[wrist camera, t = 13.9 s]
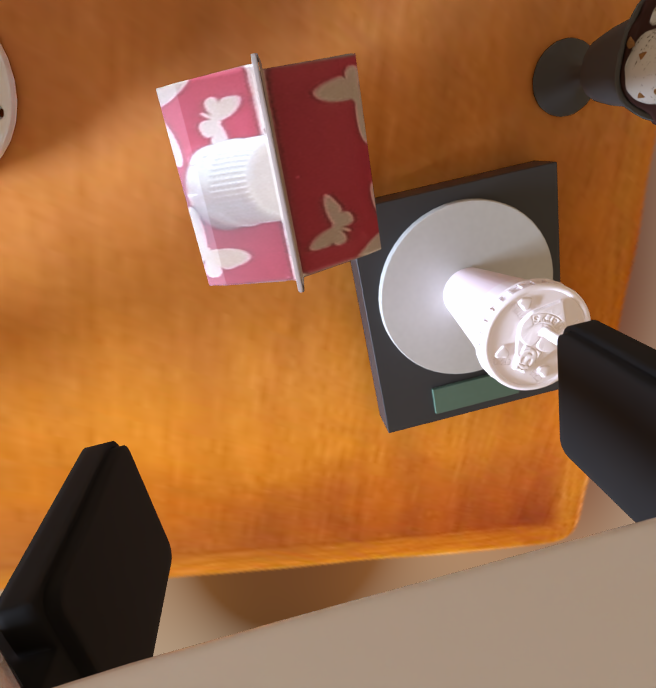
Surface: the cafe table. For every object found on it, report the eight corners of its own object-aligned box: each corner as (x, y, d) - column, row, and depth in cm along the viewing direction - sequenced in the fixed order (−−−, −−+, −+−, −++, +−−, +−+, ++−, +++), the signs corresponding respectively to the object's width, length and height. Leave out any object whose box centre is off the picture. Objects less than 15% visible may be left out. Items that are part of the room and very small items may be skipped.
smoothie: (526, 269, 36) (677, 336, 23) (481, 346, 38) (599, 447, 25) (452, 233, 35) (571, 284, 22) (409, 315, 36) (496, 407, 24)
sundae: (509, 122, 36) (668, 106, 22) (536, 15, 34) (731, -77, 20) (590, 137, 37) (789, 131, 24) (622, 34, 35) (862, -40, 21)
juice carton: (230, 220, 36) (200, 313, 16) (205, 119, 33) (132, 75, 13) (320, 202, 36) (406, 270, 16) (303, 101, 34) (378, 31, 14)
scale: (339, 205, 37) (349, 212, 33) (534, 160, 37) (563, 161, 34) (380, 415, 44) (391, 438, 40) (544, 373, 44) (569, 392, 41)
